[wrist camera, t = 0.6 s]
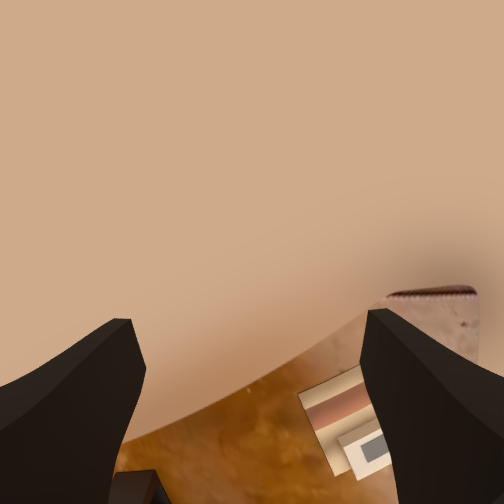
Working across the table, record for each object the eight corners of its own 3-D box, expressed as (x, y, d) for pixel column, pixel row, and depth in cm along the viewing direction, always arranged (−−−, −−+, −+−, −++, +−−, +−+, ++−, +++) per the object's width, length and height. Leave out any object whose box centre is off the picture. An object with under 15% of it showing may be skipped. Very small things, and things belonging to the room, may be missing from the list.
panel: (440, 415, 28) (441, 415, 28) (334, 474, 28) (335, 476, 27) (410, 335, 32) (412, 335, 31) (297, 393, 31) (298, 394, 31)
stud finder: (402, 441, 28) (414, 450, 24) (350, 469, 27) (358, 481, 24) (390, 409, 29) (402, 416, 26) (336, 437, 29) (343, 448, 25)
